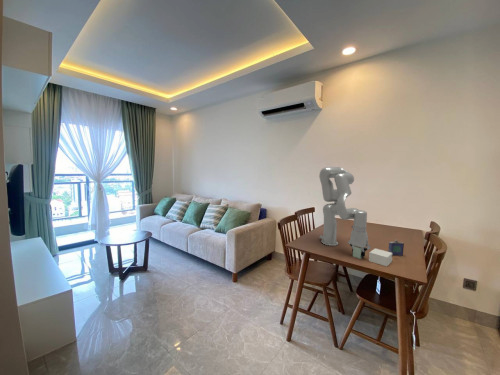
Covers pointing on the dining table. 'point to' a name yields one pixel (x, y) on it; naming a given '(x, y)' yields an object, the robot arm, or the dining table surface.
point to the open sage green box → (357, 252)
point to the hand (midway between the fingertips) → (358, 255)
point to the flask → (396, 248)
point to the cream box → (380, 257)
